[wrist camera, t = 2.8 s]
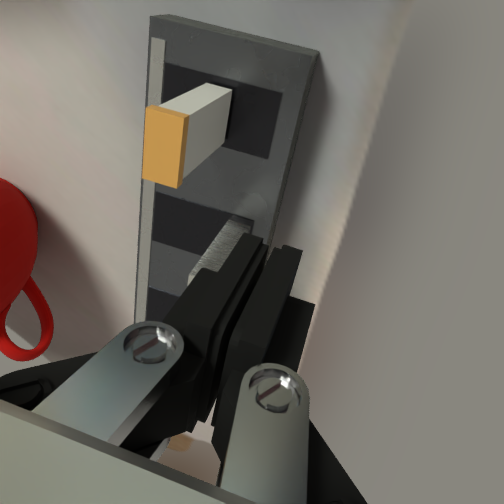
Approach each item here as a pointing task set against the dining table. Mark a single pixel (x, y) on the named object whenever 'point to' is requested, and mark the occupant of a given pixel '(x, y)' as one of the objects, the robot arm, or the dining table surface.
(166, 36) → the breaker panel
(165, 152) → the handle
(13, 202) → the ceramic cup
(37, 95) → the dining table surface
